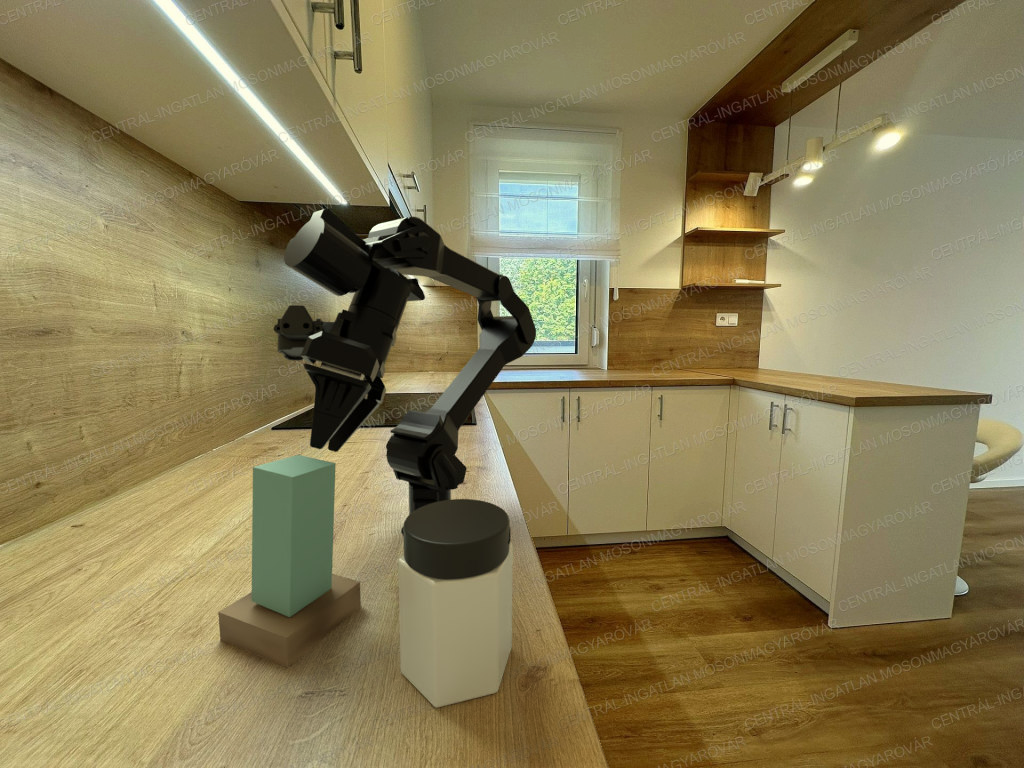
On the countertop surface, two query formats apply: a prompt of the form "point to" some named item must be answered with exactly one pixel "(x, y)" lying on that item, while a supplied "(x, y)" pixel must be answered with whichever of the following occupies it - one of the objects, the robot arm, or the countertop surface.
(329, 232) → the robot arm
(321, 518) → the teal block
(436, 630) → the jar
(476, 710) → the countertop surface
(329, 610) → the walnut block
